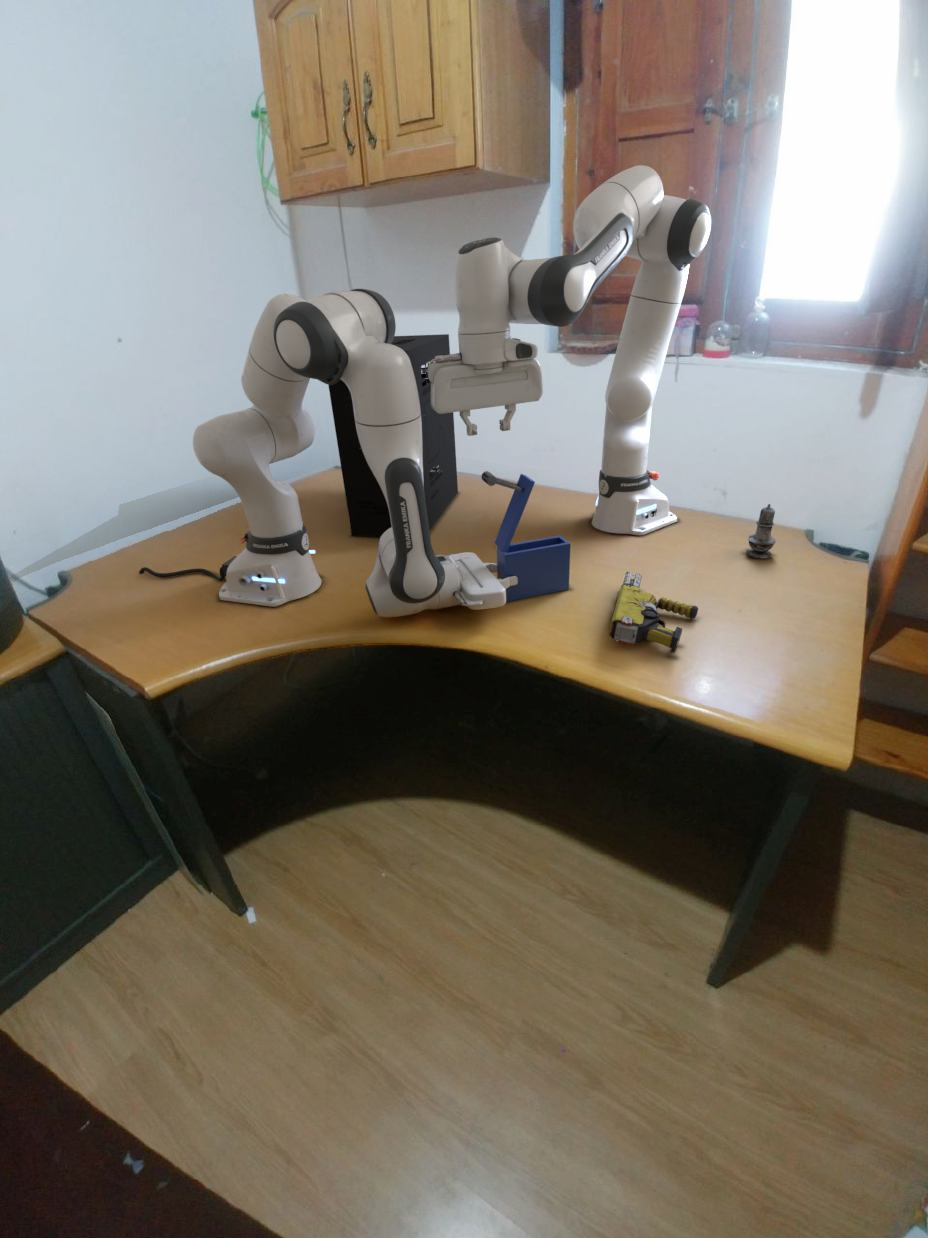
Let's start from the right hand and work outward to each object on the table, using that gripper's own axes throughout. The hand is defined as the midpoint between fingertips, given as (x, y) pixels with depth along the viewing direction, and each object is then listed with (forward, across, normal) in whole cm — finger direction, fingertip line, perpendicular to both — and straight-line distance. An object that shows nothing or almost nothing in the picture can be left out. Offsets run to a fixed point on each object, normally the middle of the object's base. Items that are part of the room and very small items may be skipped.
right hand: (488, 432), depth 110 cm
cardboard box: (+34, -6, +59) cm, 68 cm away
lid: (+17, +5, 0) cm, 17 cm away
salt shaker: (+35, +63, -4) cm, 72 cm away
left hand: (+29, +3, 0) cm, 29 cm away
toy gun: (+35, +25, -20) cm, 48 cm away
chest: (+34, +8, 0) cm, 36 cm away
